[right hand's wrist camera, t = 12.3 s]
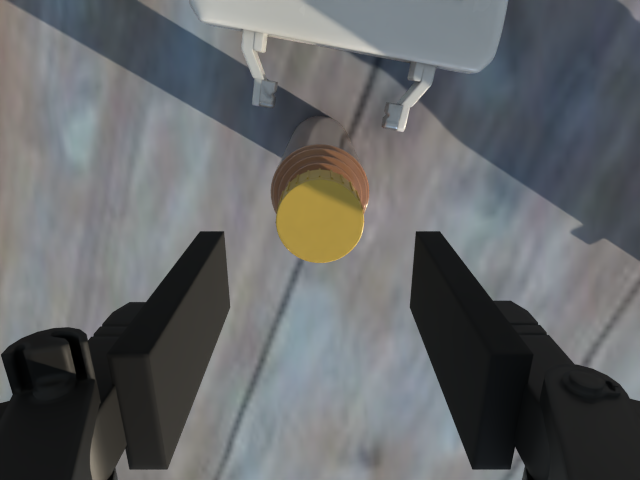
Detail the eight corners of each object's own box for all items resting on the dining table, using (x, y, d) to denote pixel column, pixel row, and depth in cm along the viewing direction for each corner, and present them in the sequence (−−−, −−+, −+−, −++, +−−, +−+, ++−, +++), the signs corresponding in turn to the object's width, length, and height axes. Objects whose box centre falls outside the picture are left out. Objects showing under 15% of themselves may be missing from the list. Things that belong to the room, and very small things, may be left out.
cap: (365, 170, 20) (369, 181, 18) (357, 249, 22) (360, 266, 20) (280, 165, 20) (276, 175, 18) (277, 244, 22) (273, 261, 20)
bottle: (352, 117, 38) (386, 164, 18) (347, 177, 40) (373, 277, 20) (291, 113, 38) (260, 156, 18) (289, 173, 40) (259, 270, 20)
